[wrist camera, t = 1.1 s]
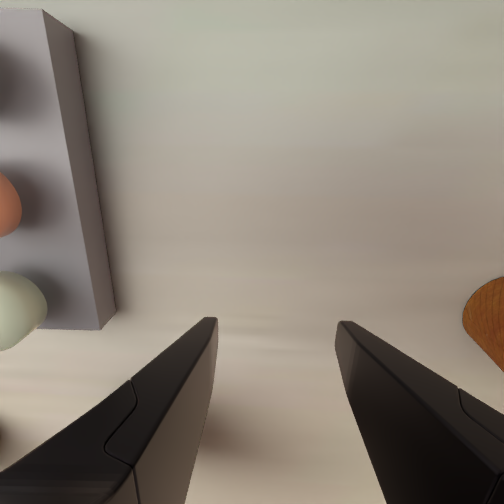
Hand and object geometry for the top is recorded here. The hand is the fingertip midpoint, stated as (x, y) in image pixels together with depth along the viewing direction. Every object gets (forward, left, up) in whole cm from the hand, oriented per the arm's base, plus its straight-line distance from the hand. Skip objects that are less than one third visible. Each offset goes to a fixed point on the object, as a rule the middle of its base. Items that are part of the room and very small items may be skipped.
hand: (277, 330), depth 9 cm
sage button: (-14, +8, -8) cm, 19 cm away
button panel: (-10, +13, -12) cm, 20 cm away
